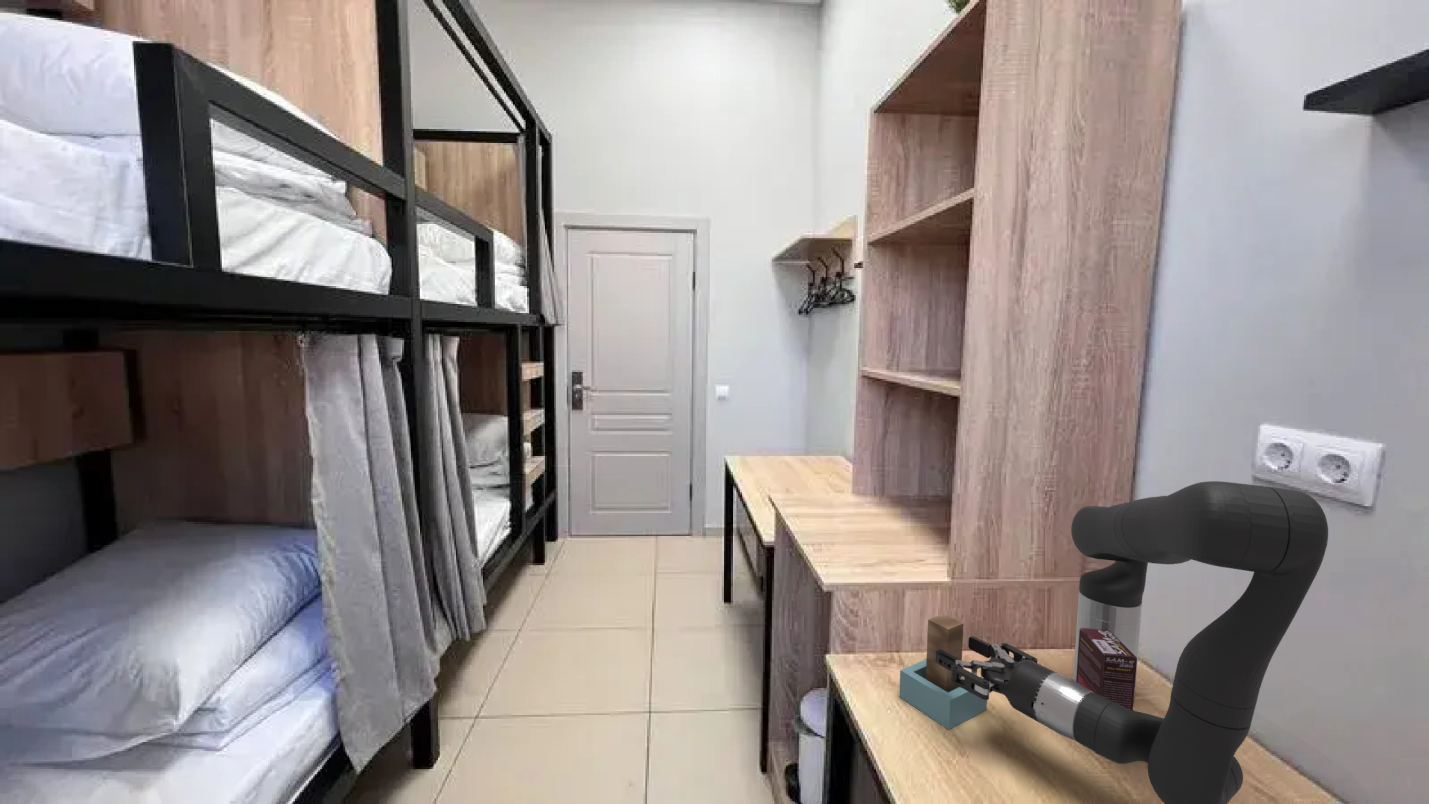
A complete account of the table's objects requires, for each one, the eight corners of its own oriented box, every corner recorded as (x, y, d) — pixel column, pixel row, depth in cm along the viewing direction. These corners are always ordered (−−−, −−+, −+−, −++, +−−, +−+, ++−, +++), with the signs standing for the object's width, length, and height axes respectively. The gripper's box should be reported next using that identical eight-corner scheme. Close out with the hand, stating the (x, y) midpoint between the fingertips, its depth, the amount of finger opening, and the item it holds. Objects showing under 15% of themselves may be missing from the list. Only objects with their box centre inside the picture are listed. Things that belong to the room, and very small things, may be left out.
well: (899, 697, 99) (900, 670, 98) (936, 680, 104) (937, 654, 104) (948, 729, 90) (950, 700, 90) (986, 709, 95) (987, 681, 95)
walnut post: (924, 696, 98) (928, 619, 96) (939, 689, 100) (943, 613, 98) (944, 709, 94) (948, 629, 93) (959, 701, 96) (963, 623, 95)
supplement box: (1131, 759, 84) (1139, 658, 83) (1095, 754, 85) (1102, 654, 84) (1104, 721, 92) (1110, 629, 91) (1071, 717, 93) (1077, 626, 92)
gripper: (1079, 660, 84) (980, 616, 98) (1025, 690, 77) (926, 638, 91) (1076, 708, 85) (978, 657, 99) (1022, 741, 78) (924, 682, 91)
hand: (953, 648), depth 95 cm, fingers open, 8 cm apart
